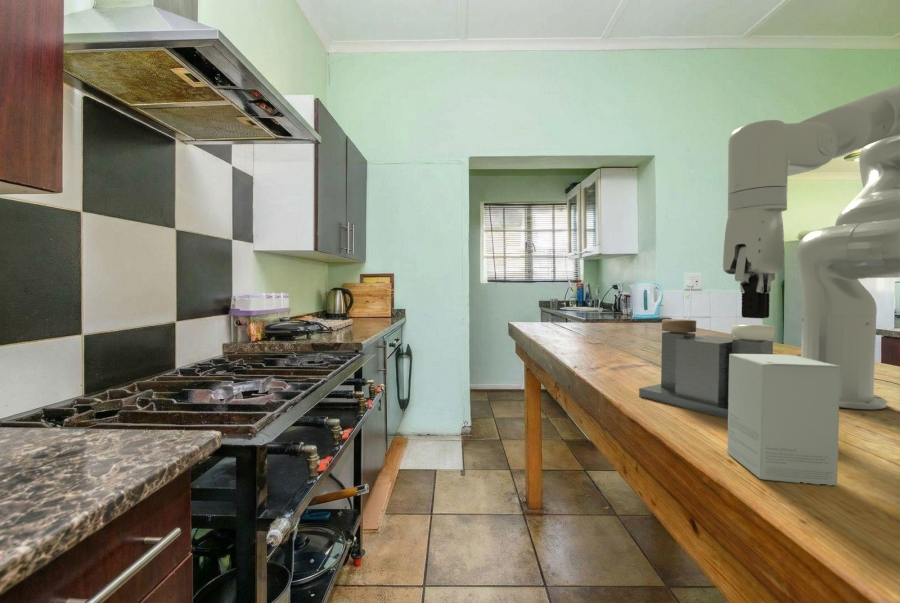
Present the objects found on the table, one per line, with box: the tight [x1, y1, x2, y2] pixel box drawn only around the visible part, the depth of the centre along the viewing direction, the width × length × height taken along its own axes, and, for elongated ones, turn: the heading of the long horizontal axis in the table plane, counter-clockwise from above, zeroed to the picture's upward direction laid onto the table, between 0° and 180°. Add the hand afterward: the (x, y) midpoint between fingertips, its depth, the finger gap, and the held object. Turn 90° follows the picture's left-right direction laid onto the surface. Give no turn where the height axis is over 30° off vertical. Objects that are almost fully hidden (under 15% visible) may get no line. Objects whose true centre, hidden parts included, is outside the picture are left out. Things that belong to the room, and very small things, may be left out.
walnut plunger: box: [661, 318, 697, 334], centre depth 74 cm, size 6×6×12 cm
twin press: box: [638, 331, 774, 420], centre depth 69 cm, size 13×19×12 cm
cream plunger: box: [730, 323, 776, 342], centre depth 64 cm, size 6×6×12 cm
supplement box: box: [726, 354, 840, 486], centre depth 44 cm, size 7×7×13 cm
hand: (755, 317), depth 64 cm, fingers closed
